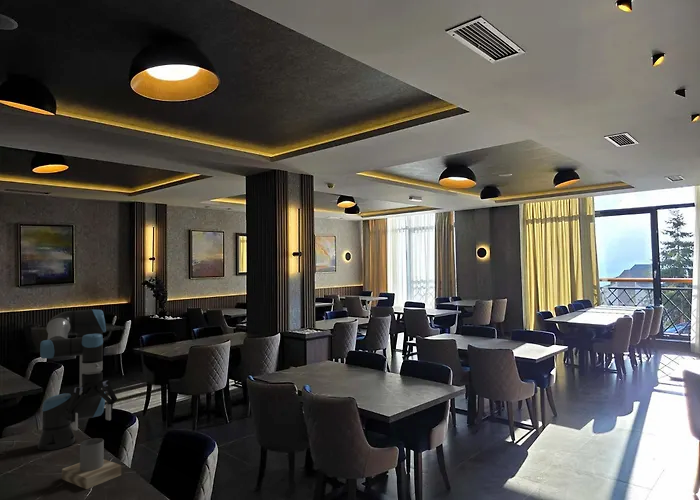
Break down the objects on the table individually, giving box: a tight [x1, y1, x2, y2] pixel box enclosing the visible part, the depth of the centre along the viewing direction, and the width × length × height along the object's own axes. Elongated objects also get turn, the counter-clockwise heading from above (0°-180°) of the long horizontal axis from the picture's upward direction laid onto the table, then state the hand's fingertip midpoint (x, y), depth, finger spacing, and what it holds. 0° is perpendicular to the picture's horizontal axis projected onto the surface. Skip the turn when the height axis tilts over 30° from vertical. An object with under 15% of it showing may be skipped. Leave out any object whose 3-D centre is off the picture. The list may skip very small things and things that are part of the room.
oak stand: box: [61, 459, 122, 490], centre depth 186 cm, size 18×14×4 cm
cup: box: [79, 437, 105, 471], centre depth 187 cm, size 8×8×10 cm
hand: (92, 424), depth 188 cm, fingers open, 13 cm apart
